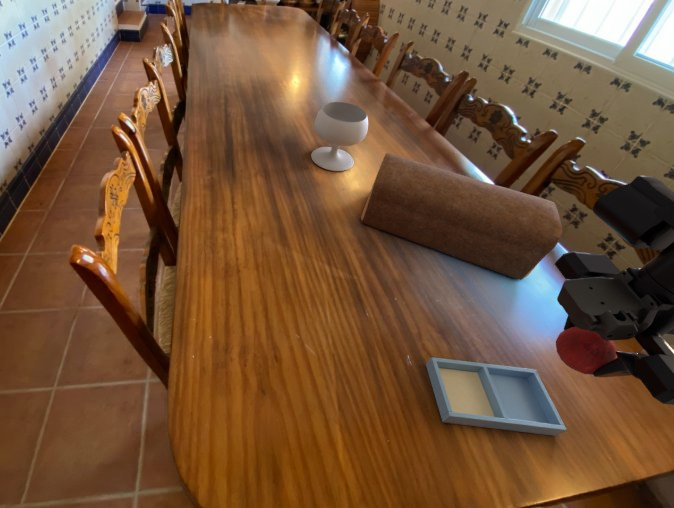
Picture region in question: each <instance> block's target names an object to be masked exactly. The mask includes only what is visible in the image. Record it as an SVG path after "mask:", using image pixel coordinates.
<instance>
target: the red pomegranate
mask: <svg viewBox="0 0 674 508" xmlns="http://www.w3.org/2000/svg"><path fill="white" fill-rule="evenodd" d="M555 349H556V353H557V355H558V357H559V359H560V360H561V362H563V364H565V365H566V366H567V367H568V368H570V369H571V370H574V371H576V372H578V373H580V374H583V375H593V372H595V371H596V370H597V369H598V368H600V367H601V366H603V365H605V364H607V363H609V362H610V361H612V360H614V359H616V358H617V355H616V351H617V347H616V346H615V344H614V342H613V340H611V341H606V340H603V339H602V338H601V337H600V335H599V334H598V333H596V332H590V331H589V330H583V329H580V328H578V327H571V328H569V329H566V330H564V329H563V330H562V331H560V333H559V334H558V336H557V338H556V339H555Z"/></svg>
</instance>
